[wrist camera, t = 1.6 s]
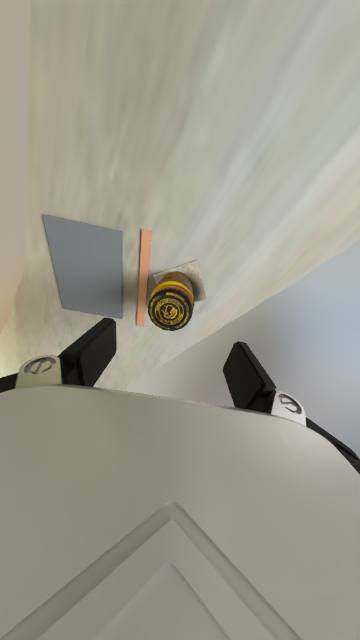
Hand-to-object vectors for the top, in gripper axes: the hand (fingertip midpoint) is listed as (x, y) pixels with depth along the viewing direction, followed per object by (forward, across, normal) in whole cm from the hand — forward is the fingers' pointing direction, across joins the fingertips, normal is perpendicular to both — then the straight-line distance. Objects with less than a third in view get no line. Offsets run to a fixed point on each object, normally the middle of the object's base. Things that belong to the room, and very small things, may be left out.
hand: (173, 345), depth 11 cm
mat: (+18, +17, 0) cm, 24 cm away
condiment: (+18, 0, -1) cm, 18 cm away
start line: (+18, +7, 0) cm, 19 cm away
